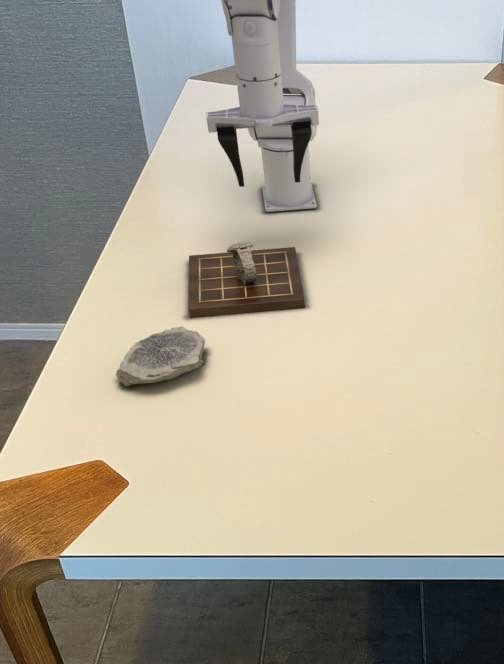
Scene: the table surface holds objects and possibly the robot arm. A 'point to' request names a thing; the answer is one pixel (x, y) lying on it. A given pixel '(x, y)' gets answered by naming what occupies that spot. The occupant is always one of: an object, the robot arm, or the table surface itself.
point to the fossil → (162, 357)
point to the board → (236, 297)
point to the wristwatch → (243, 261)
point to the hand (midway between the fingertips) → (269, 181)
